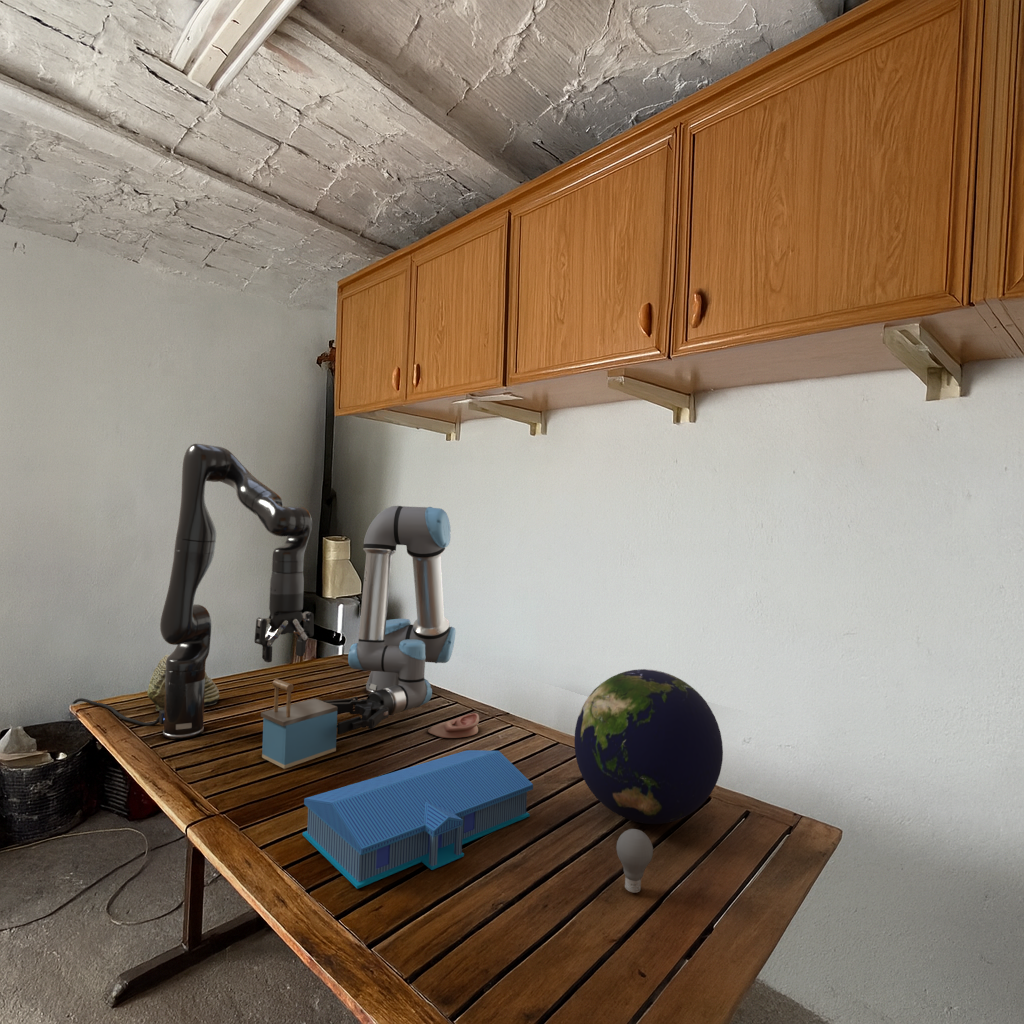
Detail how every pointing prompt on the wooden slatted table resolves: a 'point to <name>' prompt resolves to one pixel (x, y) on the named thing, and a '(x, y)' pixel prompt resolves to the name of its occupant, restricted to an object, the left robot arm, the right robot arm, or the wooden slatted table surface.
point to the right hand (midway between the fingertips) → (321, 721)
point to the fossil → (158, 687)
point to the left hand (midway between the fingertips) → (284, 658)
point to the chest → (299, 740)
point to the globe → (648, 746)
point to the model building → (416, 814)
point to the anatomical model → (457, 727)
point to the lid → (295, 707)
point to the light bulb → (634, 857)
